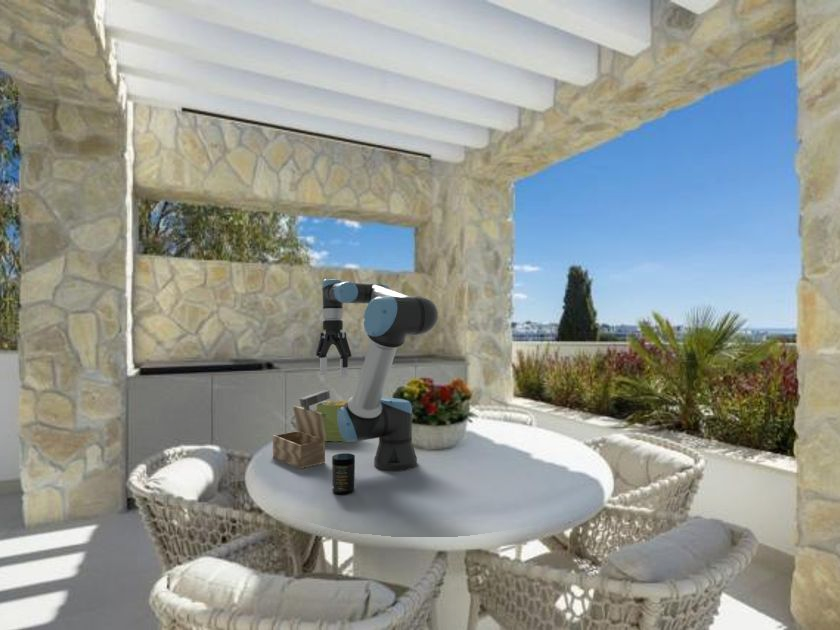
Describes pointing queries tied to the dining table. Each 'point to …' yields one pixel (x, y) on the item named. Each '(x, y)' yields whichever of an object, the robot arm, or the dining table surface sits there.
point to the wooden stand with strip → (311, 415)
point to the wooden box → (298, 449)
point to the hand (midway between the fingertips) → (333, 375)
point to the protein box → (331, 418)
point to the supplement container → (343, 473)
